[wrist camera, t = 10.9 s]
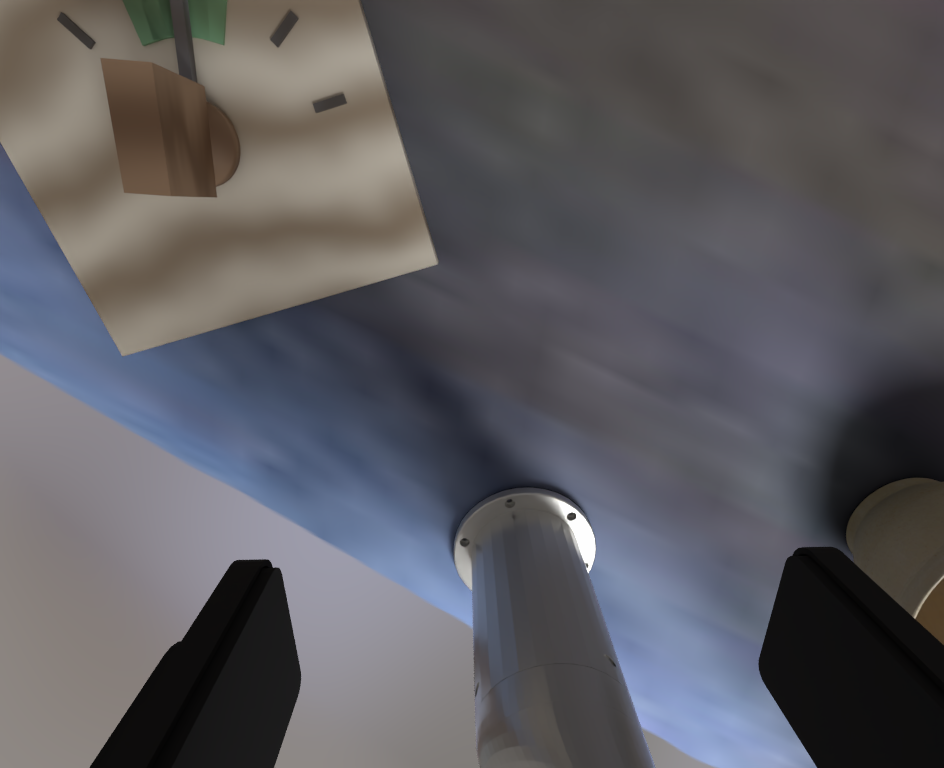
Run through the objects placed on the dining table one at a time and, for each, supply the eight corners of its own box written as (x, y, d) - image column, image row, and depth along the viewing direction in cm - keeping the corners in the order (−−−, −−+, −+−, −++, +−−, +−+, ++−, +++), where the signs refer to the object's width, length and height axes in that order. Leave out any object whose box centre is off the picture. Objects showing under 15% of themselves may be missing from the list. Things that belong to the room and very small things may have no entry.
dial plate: (438, 261, 34) (437, 264, 33) (135, 350, 36) (120, 357, 34) (322, -127, 27) (313, -148, 25) (-54, 11, 28) (-84, -1, 27)
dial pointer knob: (245, 199, 31) (196, 197, 25) (165, 193, 30) (98, 190, 25) (223, -37, 26) (158, -103, 21) (130, -46, 26) (39, -114, 21)
